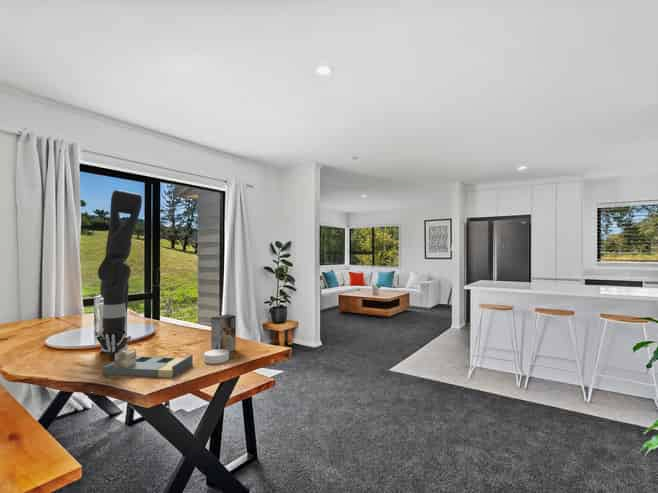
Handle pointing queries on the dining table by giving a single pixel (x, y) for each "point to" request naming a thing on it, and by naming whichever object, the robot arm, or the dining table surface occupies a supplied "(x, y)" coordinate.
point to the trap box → (152, 366)
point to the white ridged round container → (216, 356)
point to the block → (125, 358)
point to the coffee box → (223, 332)
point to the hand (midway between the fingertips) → (113, 360)
